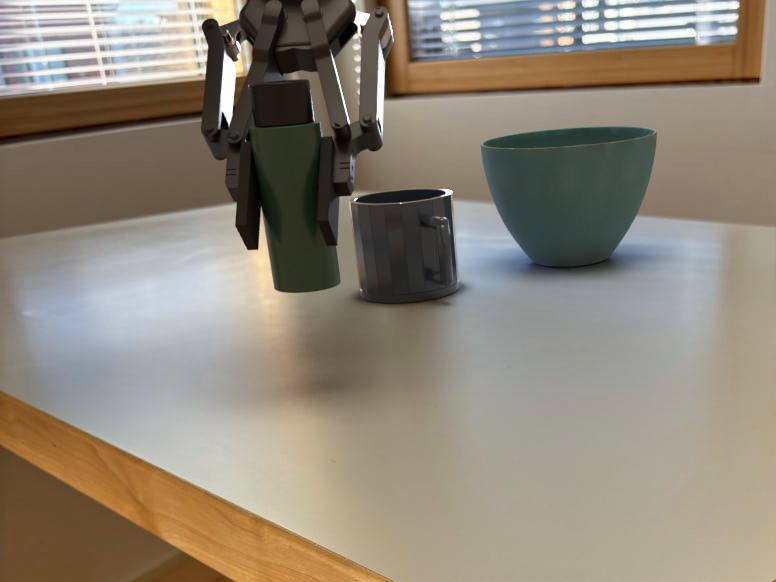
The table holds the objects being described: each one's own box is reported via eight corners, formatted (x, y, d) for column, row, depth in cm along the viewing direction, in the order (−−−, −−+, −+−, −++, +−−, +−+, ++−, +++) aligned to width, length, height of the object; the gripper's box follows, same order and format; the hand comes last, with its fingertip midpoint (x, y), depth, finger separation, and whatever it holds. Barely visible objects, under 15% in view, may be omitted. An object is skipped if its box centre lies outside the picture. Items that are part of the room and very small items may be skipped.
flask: (264, 286, 75) (231, 84, 69) (324, 275, 77) (298, 78, 71) (289, 296, 72) (257, 85, 65) (351, 285, 74) (326, 78, 67)
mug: (344, 292, 106) (332, 198, 102) (429, 276, 110) (421, 185, 106) (405, 314, 96) (394, 211, 91) (496, 295, 100) (490, 196, 96)
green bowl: (675, 267, 106) (678, 134, 99) (499, 284, 104) (492, 151, 98) (631, 238, 121) (632, 122, 115) (478, 252, 120) (471, 136, 114)
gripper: (431, -10, 78) (426, 262, 72) (201, 7, 79) (179, 274, 74) (416, -104, 70) (409, 191, 65) (163, -83, 72) (135, 206, 66)
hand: (287, 235), depth 69 cm, fingers closed on flask, 5 cm apart
